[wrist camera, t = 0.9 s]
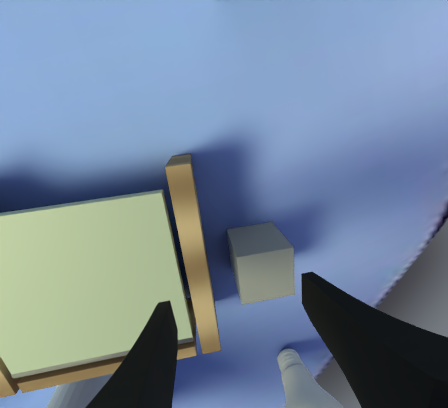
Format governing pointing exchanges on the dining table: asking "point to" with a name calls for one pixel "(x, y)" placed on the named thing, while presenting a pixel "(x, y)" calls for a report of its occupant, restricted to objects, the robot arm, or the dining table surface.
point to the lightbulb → (302, 384)
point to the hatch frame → (198, 304)
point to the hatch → (85, 280)
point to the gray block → (261, 262)
